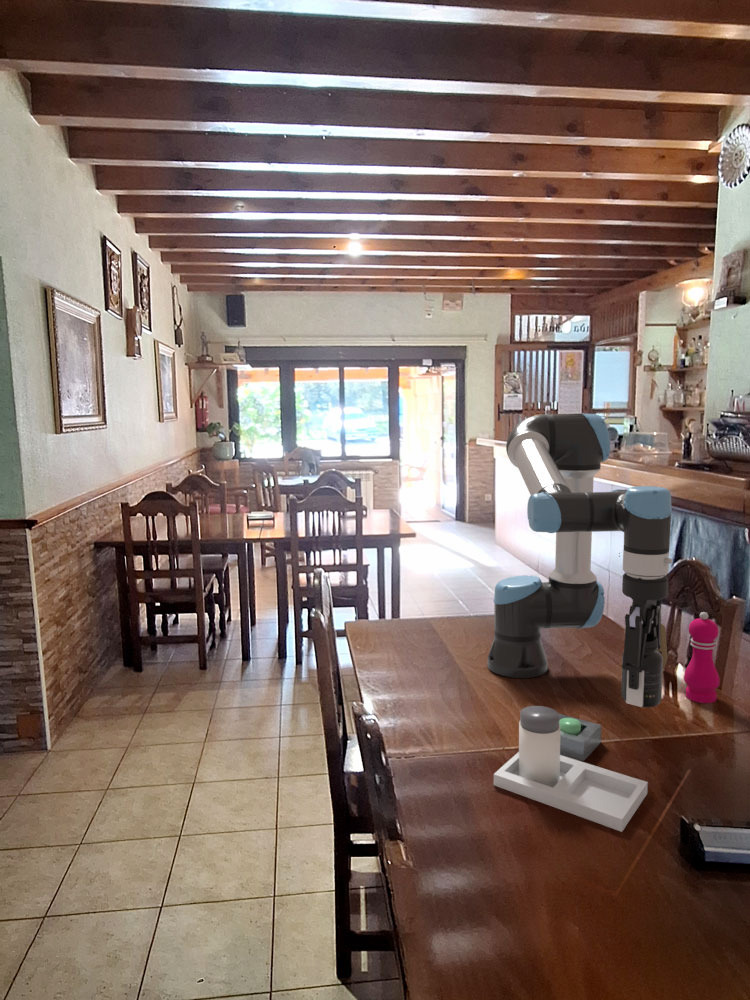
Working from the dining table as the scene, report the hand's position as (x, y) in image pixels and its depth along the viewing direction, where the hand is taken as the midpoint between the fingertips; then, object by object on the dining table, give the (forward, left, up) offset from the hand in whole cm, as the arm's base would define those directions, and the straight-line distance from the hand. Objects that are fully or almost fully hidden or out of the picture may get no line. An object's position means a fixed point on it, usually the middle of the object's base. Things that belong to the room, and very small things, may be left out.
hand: (641, 696), depth 120 cm
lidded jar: (-12, -16, -12) cm, 24 cm away
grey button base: (-13, -1, -13) cm, 18 cm away
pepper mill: (+2, +38, -13) cm, 40 cm away
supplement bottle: (0, 0, -1) cm, 1 cm away
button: (-13, -1, -11) cm, 17 cm away
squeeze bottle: (-12, +48, -13) cm, 51 cm away
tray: (-7, -16, -13) cm, 22 cm away
